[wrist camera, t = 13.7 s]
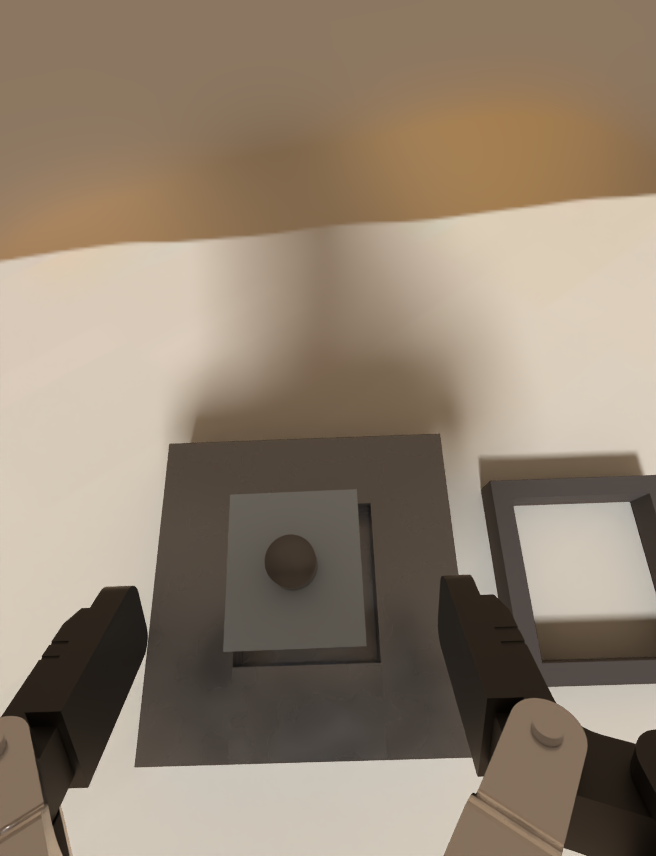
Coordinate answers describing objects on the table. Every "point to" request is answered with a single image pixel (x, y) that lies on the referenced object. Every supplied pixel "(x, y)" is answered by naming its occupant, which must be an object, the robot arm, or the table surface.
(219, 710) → the block
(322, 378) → the table surface
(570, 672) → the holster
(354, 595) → the plug
